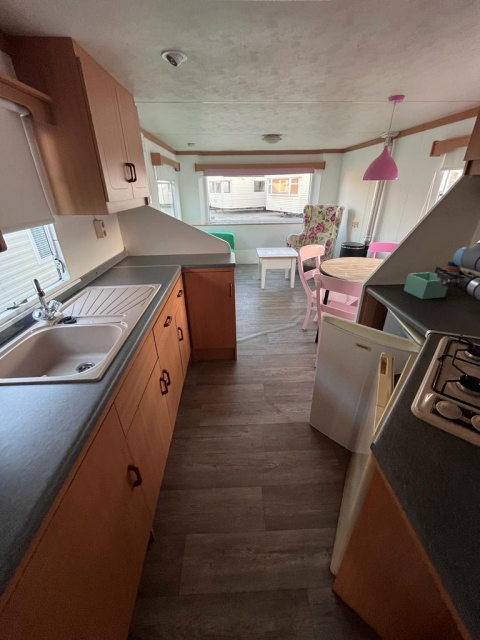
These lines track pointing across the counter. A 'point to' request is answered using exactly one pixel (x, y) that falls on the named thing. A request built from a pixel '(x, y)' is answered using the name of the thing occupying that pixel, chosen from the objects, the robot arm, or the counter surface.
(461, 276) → the robot arm
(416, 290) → the waste bin
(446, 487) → the counter surface
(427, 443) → the counter surface
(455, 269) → the supplement bottle
